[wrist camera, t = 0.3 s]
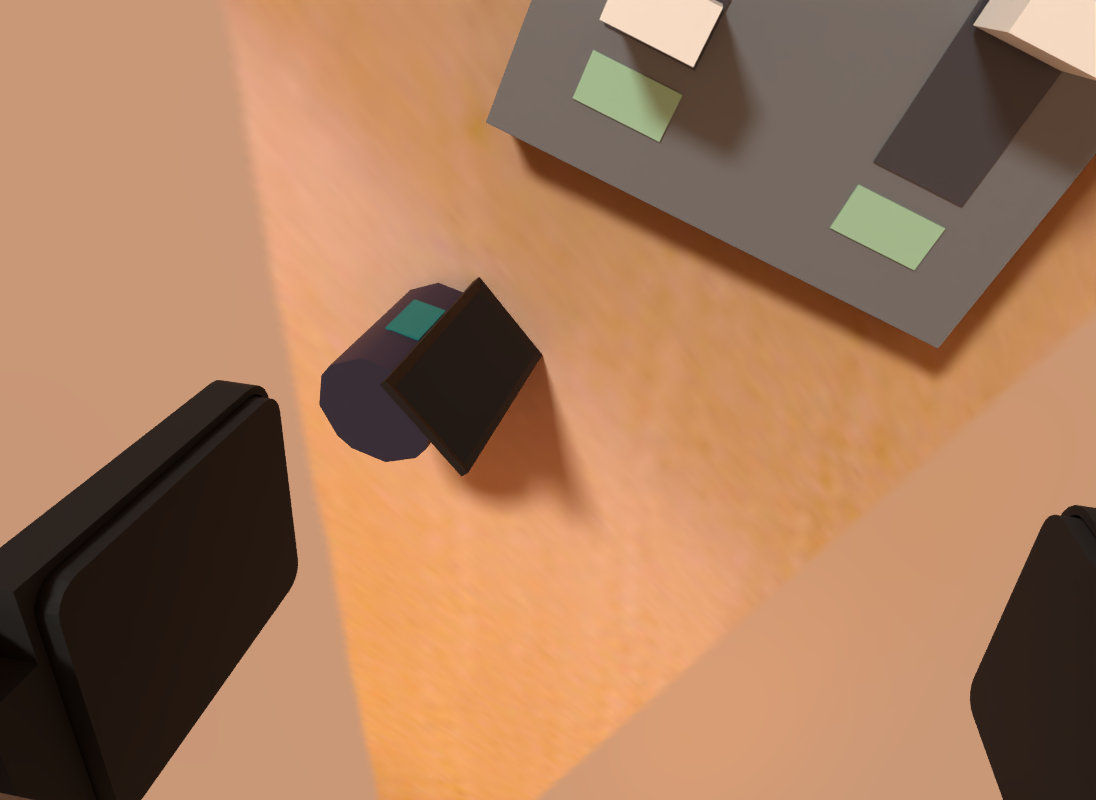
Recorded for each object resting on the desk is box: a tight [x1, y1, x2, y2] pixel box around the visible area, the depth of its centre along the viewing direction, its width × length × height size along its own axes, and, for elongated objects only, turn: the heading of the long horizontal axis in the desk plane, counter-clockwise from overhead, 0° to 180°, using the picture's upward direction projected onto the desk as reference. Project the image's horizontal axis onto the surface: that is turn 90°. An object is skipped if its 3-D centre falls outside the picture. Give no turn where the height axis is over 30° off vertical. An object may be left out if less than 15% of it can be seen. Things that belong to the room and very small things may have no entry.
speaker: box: [319, 277, 542, 476], centre depth 38 cm, size 8×6×10 cm
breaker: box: [599, 0, 723, 67], centre depth 28 cm, size 2×4×4 cm, turn 67°
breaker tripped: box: [973, 0, 1096, 81], centre depth 26 cm, size 2×4×4 cm, turn 66°
